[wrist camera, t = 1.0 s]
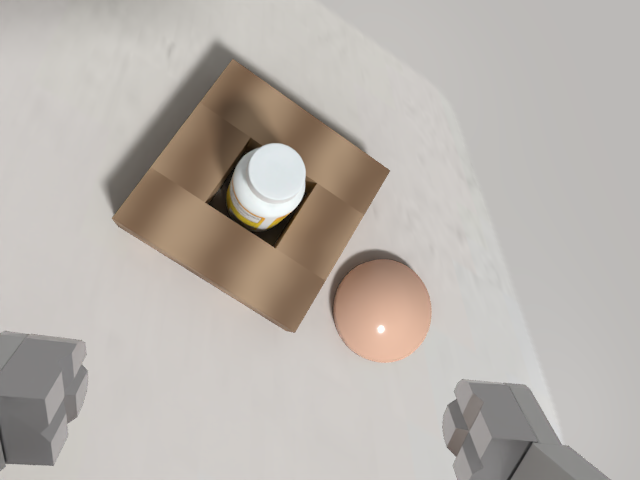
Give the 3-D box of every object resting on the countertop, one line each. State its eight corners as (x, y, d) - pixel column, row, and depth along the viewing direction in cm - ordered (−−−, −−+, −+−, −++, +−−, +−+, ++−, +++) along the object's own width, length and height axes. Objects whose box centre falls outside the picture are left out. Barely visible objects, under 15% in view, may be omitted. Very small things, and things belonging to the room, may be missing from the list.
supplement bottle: (226, 233, 40) (237, 210, 31) (224, 171, 41) (234, 131, 32) (288, 231, 42) (317, 209, 32) (285, 172, 42) (313, 134, 33)
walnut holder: (118, 226, 38) (111, 218, 35) (229, 78, 42) (232, 58, 39) (285, 330, 40) (294, 332, 37) (374, 181, 44) (390, 170, 41)
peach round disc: (314, 327, 41) (317, 328, 40) (364, 241, 43) (368, 239, 42) (397, 380, 42) (402, 381, 41) (441, 293, 45) (447, 293, 44)
